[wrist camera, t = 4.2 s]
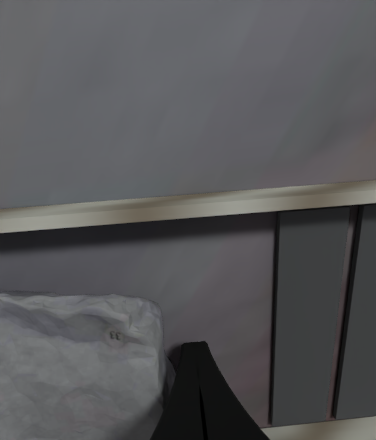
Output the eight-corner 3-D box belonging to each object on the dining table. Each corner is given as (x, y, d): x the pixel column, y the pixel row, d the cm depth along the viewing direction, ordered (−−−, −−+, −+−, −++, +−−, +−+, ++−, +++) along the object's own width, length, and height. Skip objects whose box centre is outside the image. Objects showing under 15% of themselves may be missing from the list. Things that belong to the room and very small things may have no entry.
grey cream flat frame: (438, 175, 12) (476, 182, 10) (386, 421, 16) (408, 451, 15) (-139, 220, 11) (-188, 234, 10) (-29, 466, 16) (-51, 503, 14)
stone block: (-76, 285, 14) (-25, 461, 15) (-202, 333, 9) (-114, 585, 10) (159, 242, 15) (192, 415, 16) (154, 267, 10) (201, 514, 11)
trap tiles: (426, 198, 12) (432, 200, 12) (384, 409, 16) (387, 414, 16) (277, 210, 12) (280, 212, 12) (270, 421, 16) (272, 426, 16)
